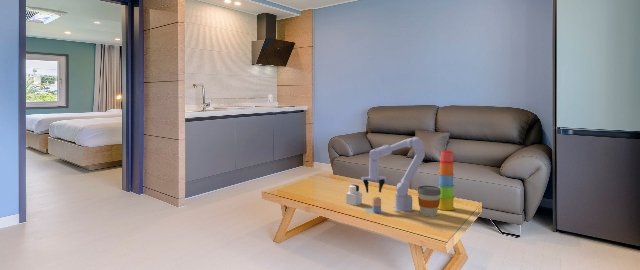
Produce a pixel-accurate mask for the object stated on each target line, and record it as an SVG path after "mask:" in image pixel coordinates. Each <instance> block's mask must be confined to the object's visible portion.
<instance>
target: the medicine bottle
mask: <svg viewBox="0 0 640 270" xmlns="http://www.w3.org/2000/svg"><path fill="white" fill-rule="evenodd" d="M362 200H363V193H362V192H360V186H359V184H350V185H349V188H348V191H347V192H346V195H345V203H346V204H347V205H351V206H355V207H356V206H359V205H361V204H363V203H362Z"/></svg>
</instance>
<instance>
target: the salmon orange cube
mask: <svg viewBox="0 0 640 270" xmlns="http://www.w3.org/2000/svg"><path fill="white" fill-rule="evenodd" d="M371 203H372V205H374V206H381V207H382V198H381V197H379V196H376V197H374V196H373V197H372V202H371Z"/></svg>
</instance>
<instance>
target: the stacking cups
mask: <svg viewBox="0 0 640 270" xmlns="http://www.w3.org/2000/svg"><path fill="white" fill-rule="evenodd" d="M454 164H455V162H454V151H453V150H441V152H440V162H439V172H438V175H439V176H438V177H439V179H438V183H437V185H438V187H439V188H440V191H441V194H440V202H439V207H438V209H439V210H443V211H453V210H456V209H455V208H456V207H454V200H455V199H454V198H455V195H454V187H455V184H454V175H455V174H454Z"/></svg>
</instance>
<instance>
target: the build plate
mask: <svg viewBox="0 0 640 270" xmlns="http://www.w3.org/2000/svg"><path fill="white" fill-rule="evenodd" d="M363 210H364V211H365V212H366V214H375V213H374V212H373V211H372V207H363ZM384 213H385V211H384V210H382V208H381V213H380V214H384Z"/></svg>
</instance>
